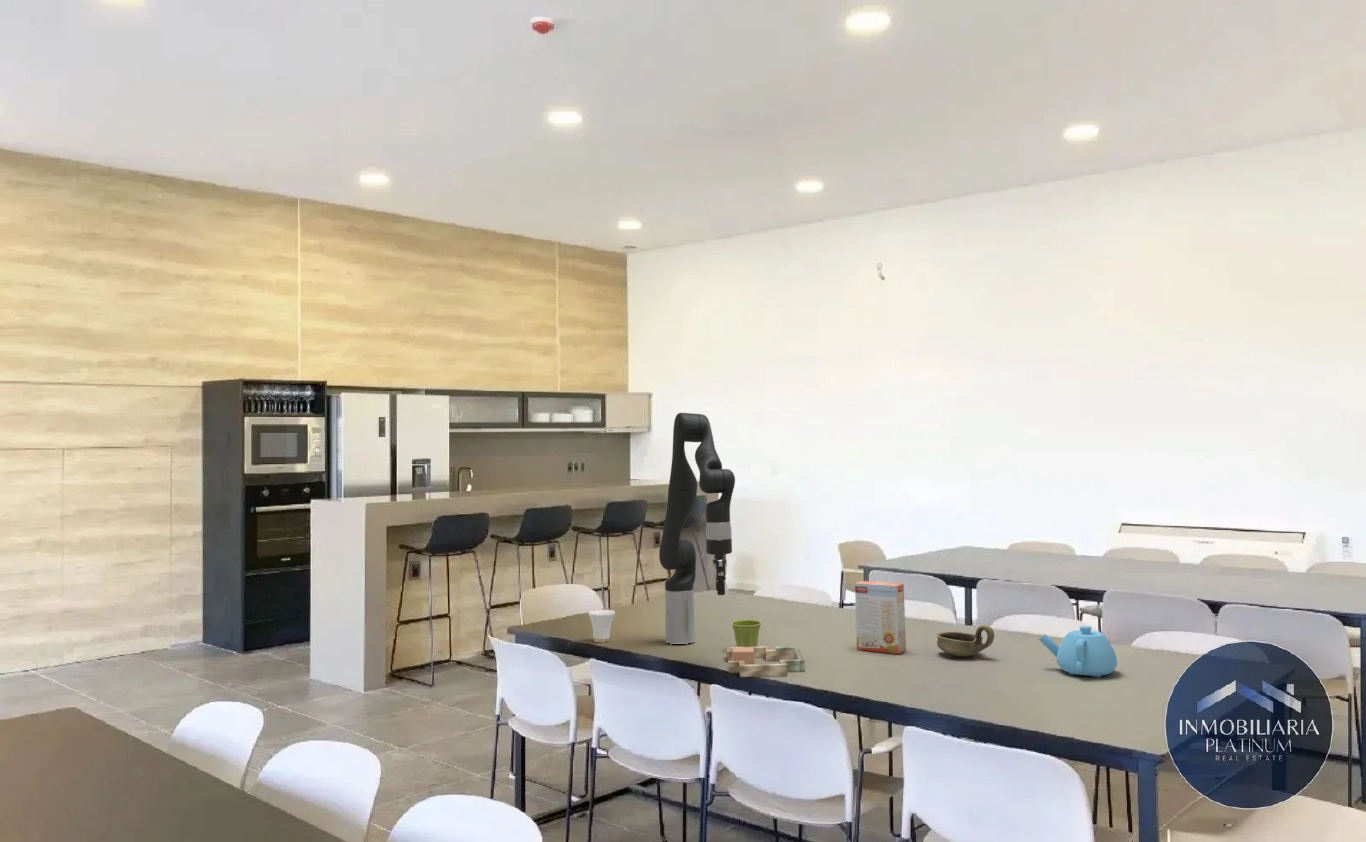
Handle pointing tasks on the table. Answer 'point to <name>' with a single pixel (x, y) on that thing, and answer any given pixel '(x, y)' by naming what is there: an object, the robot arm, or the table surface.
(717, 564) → the robot arm
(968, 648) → the bowl
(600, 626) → the cup
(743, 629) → the plant pot
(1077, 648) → the teapot
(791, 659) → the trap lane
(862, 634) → the cracker box
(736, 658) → the block
